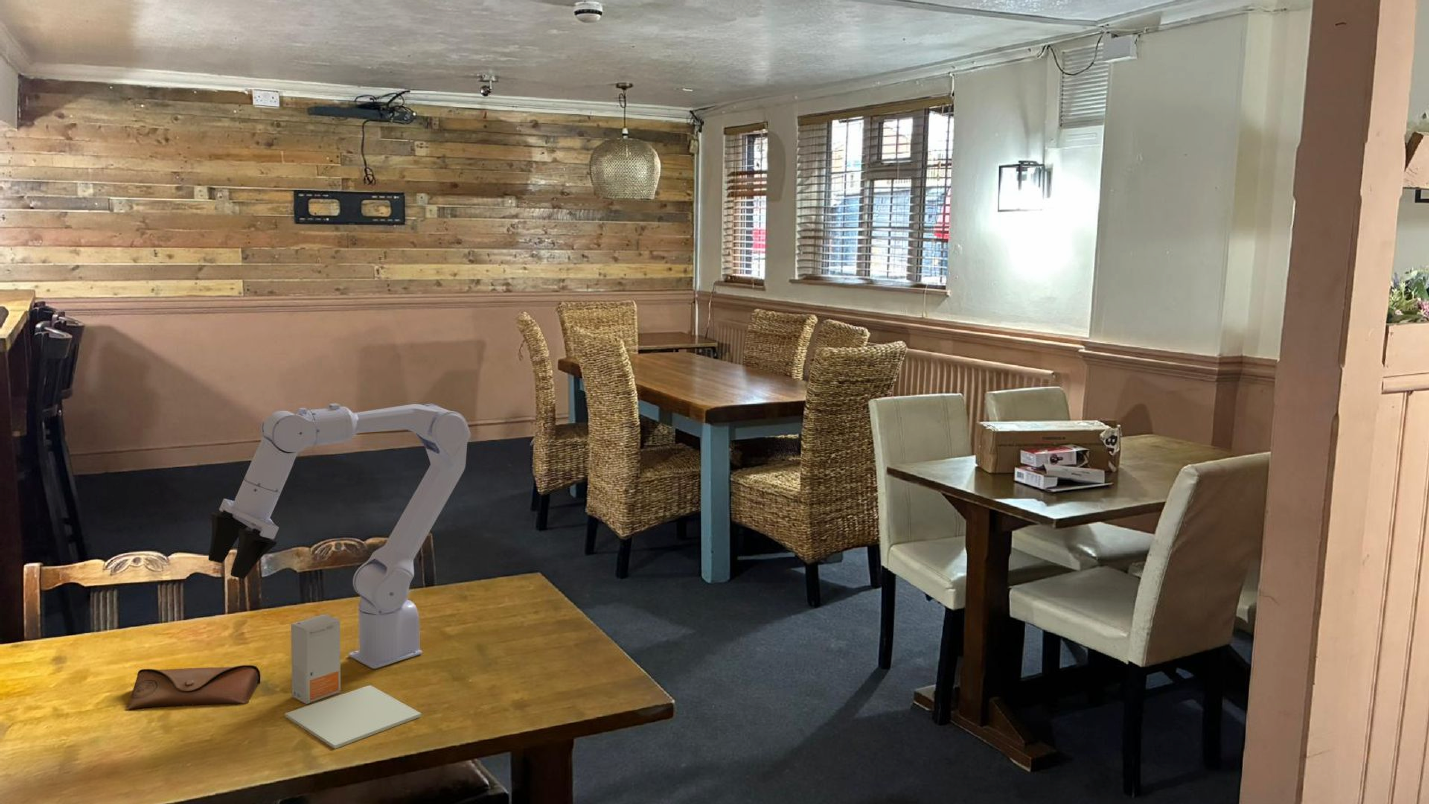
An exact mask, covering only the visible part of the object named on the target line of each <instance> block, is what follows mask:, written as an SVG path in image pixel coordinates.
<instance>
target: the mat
mask: <svg viewBox="0 0 1429 804" xmlns="http://www.w3.org/2000/svg"><path fill="white" fill-rule="evenodd" d="M284 717H285V718H287V719H288V720H289V721H291V722H293V723H294V724H296V725H297V726H299V727H301V728H302V729H303V730H306V732H308V733H310V734H311V735H312V736H314V737H315V738H317V739H319V740H321V741H322V742H323V743H325V744H327V745H328V746H329V747H331V748H333V749H336V750H337V749H338V748H341V747H344V746H347V745H350V744H351V743H354V742H357V741H360V740H362V739H364V738H368V737H370V736H373V735H376V734H378V733H381V732H385V731H386V730H389V729H392V728H394V727H397V726H400V725H403V724H405V723H408V722H411V721H412V720H416V719H419V718H421V717H422V713H421V712H420V711H418V710H416V709H414V708H412V707H410V706H409V705H407V704H405V703H403V702H401V701H399V700H397V699H396V698H394V697H392V696H391V695H389V694H387V693H386V692H383V691H381V690H380V689H378V688H376V687H374V686H372V685H371V684H370V685H366V686H363V687H359V688H357V689H354V690H351V691H347V692H345V693H342V694H339V695H336V696H333V697H330V698H328V699H327V698H326V699H324V700H322V701H321V700H320V701H318V702H315V703H312V704H309V705H307V706H303V707H300V708H297V709H295V710H291V711H289V712H285V713H284Z"/></svg>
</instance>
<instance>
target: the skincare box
mask: <svg viewBox="0 0 1429 804" xmlns="http://www.w3.org/2000/svg"><path fill="white" fill-rule="evenodd" d="M290 638H291V639H290V641H291V642H290V643H291V645H290V647H291V648H290V649H291V656H290V657H291V696H292V698H294V699H296V700H298V701H300V702H302V703H304V704H305V705H308V704H309V705H310V704H311V703H314V702H316V701H319V700H322V699H325V698H327V697H332V696H333V695H337V694H340V693H341V690H342V689H341V620H340V619H338V618H335V617H334V616H331V615H328V614H327V613H323V614H320V615H317V616H314V617H312V616H311V617H309V618H306V619H304V620H301V621H296V622H293V623H291V624H290Z"/></svg>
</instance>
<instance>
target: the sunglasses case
mask: <svg viewBox="0 0 1429 804" xmlns="http://www.w3.org/2000/svg"><path fill="white" fill-rule="evenodd" d="M260 684H261V672H260V669H259V667H257V666H256V665H251V664H250V665H249V664H242V665H236V666H227V667H226V666H225V667H223V666H219V667H217V666H216V667H211V666H210V667H187V668H172V669H171V668H170V669H167V668H166V669H154V668H143V669H140V670H138V672H137V676H136V678H135V683H134V686H133V688H132V692H131V695H130V698H129V702H128V704H127V706H126V708H125V709H124V711H126V712H127V711H128V712H129V711H136V710H137V711H138V710H146V709H159V708H160V709H162V708H163V709H164V708H179V707H197V706H219V705H220V706H221V705H223V706H224V705H225V706H228V705H229V706H230V705H235V706H238V705H247V704H249V703H250V699H251V698H252V696H253V694H254V693H255V690H256V689H257V687H258V685H260Z"/></svg>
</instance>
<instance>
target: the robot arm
mask: <svg viewBox="0 0 1429 804" xmlns="http://www.w3.org/2000/svg"><path fill="white" fill-rule="evenodd" d="M393 430H394V431H395V430H396V431H397V430H407V431H410V432H413V433H414V434H415V436H416V438H417V439H418V440H419V441H420V443H422V445H423V446H424V448H425V451H426V454H427V456H428V459H429V463H430V465H429V467H428V469H427V471H426V472H425V474H424V476H423V478H422V479H421V481H420V483H419V484H418V486H417V489H416V490H415V492H414V493H413V494H412V497H411V499H410V500H409V502H408V504H407V505H406V507H405V508H404V511H403V513H402V514H401V516H400V518H399V520H398V521H397V523H396V525H395V527H394V528H393V530H392V532H391V533H390V535H389V536H388V538H387V540H386V542H385V544H383V546H381V547H380V548H378V549H376V550H375V551H373V552H372V553H371V556H370V557H369V559H368V560H367V561H366V562H364V563H363V564H362V565H360V566H359V567H358V569H357V570H356V571H355V573H354V575H353V578H352V586H353V589H354V591H355V592H356V593H357V594H358V595H359V596H360V597H359V599H360V600H359V602H358V645H359V646H358V647H359V648H358V649H357V650H355V651H351V652H349V653H348V656H349V657H350V658H352V659H353V660H356V661H357V662H359V663H361V664H364V665H365V666H367V667H369V668H371V669H378V668H383V667H385V666H388V665H390V664H394V663H397V662H400V661H403V660H407V659H410V658H413V657H416V656H420V655H422V654H423V650H421V649H420V646H421V645H420V616H419V614H420V613H419V610H418V609H417V606H416V605H415V603H414V602H413V601H411V600H409V599H408V597H409V593H410V585H411V582H412V580H413V579H414V577H415V567H414V559H415V558H416V556H417V555H418V553H419V551H420V549H421V547H422V546H423V545H424V542H425V540H426V539H427V537H428V535H429V533H430V531H431V529H432V527H434V524H435V523H436V522H437V520H438V517H439V515H440V514H441V512H442V510H443V508H444V507H445V505H446V503H447V502H448V500H449V499H450V496H451V494H452V493H453V491H454V489H455V487H456V485H457V484H458V482H459V480H460V479H461V477H462V475H463V473H464V471H465V469H466V463H467V451H468V449H467V448H468V442H469V440H470V439H471V437H472V433H471V431H470V428H469V425H468V423H467V420H466V418H465V416H463V415H462V414H461V413H459V412H457V411H451V410H448V409H446V408H442V407H441V406H439V405H437V404H434V403H427V404H419V403H413V404H405V405H404V404H403V405H399V406H392V407H385V408H379V409H372V410H366V411H359V412H353V411H352V410H350V409H349V408H348V407H347V406H341V405H340V404H339V403H329V404H328V407H327V408H317V409H316V408H315V409H307V407H299V408H298V409H297V412H296V413H293V412H290V411H288V410H277V411H274V412H272V414H270V415H268V416H267V417H266V419H265V420H262V422H261V424H260V433H261V436H262V437H261V441H260V442H259V445H258V447H257V449H256V451H255V453H254V456H253V458H252V459H251V462H250V465H249V466H248V469H247V471H246V473H245V475H244V478H243V481H242V483H241V485H240V487H239V488H238V489H239V490H238V492H237V494H236V496H235V498H234V500H230V499H228V498H223V500H222V502H221V505H220V507H219V509H218V510H219V511H220V513H216V512H212V513H211V515H210V519H211V541H210V547H209V551H208V561H210V562H214V563H218V564H223V563H224V562H225V560H226V558H227V557H228V556H229V553H231V550H232V548H233V546H234V545H235V543H236V541H237V540H238V543H237V544H238V545H237V550H236V554H235V557H234V560H233V563H232V566H231V570H230V576H231V577H233V578H237V579H242V580H244V579H246V578H247V576H248V575H249V574H250V572H252V570H253V568H254V567H255V566H256V564H257V563H258V562H259V561H260V560H261V558H262V557H264V556H265V555H266V553H268V552H269V551H270V550H271V549H273V548H275V547H276V546H277V544H278V540H276V539H275V537H276V536H277V533H278V530H279V528H280V527H279V526H278V525H276V524H275V523H274V522H273V520H272V519H271V516H272V514H273V511H274V509H275V507H276V505H277V502H278V501H279V499H280V496H281V494H282V491H283V488H284V486H285V484H286V481H287V480H288V477H289V474H290V473H291V470H292V467H294V463H295V460H296V458H297V456H298V453H300V452H302V451H304V450H305V449H306V448H307V447H316V446H325V445H331V444H332V445H334V444H340V443H347V442H348V443H349V442H350V441H351V440H352V439H353V438H354V437H355V436H356V435H357V434H359V433H360V434H361V433H371V432H383V431H384V432H385V431H393ZM248 527H249V528H250V529H252V531H251V530H249V529H247V528H248Z"/></svg>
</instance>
